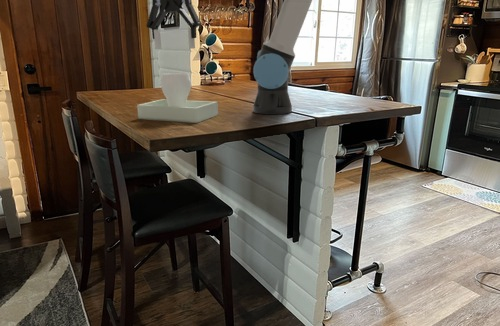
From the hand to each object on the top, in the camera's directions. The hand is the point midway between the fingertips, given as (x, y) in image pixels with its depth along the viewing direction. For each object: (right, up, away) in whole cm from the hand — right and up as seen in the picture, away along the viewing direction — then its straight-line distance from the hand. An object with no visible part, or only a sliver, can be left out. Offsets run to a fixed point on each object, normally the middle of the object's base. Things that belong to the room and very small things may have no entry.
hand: (175, 48), depth 134 cm
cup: (0, -23, +7) cm, 24 cm away
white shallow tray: (0, -23, +7) cm, 24 cm away
